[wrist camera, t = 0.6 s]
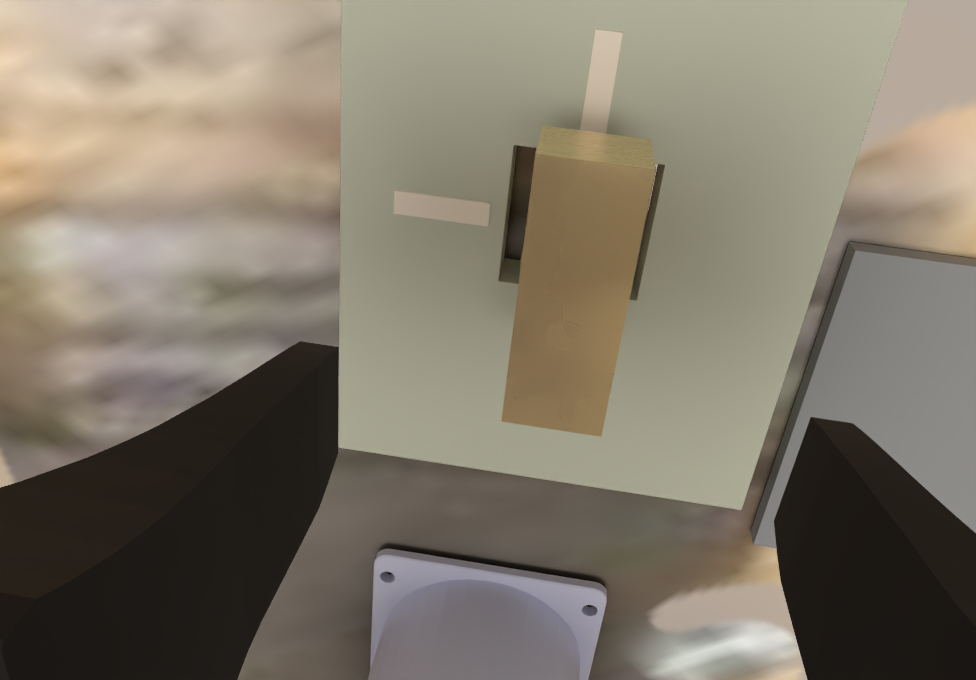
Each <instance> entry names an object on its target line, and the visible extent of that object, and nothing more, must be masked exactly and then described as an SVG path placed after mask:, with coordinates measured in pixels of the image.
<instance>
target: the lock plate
mask: <svg viewBox="0 0 976 680" xmlns="http://www.w3.org/2000/svg"><path fill="white" fill-rule="evenodd" d="M907 4H908V0H342V15H341V162H340V308H339V448H346V449H352V450H359V451H365V452H371V453H378V454H384V455H391V456H397V457H404V458H410V459H416V460H423V461H429V462H436V463H442V464H449V465H455V466H461V467H468V468H474V469H481V470H487V471H494V472H500V473H506V474H513V475H519V476H526V477H532V478H539V479H545V480H552V481H558V482H564V483H571V484H577V485H584V486H590V487H597V488H603V489H609V490H616V491H622V492H629V493H635V494H642V495H648V496H654V497H661V498H667V499H674V500H680V501H687V502H693V503H700V504H706V505H712V506H719V507H725V508H732V509H738V510H742V507H743V504H744V500H745V497H746V494H747V491H748V488H749V485H750V482H751V479H752V476H753V473H754V470H755V467H756V464H757V461H758V458H759V455H760V452H761V449H762V446H763V443H764V440H765V436H766V433H767V430H768V427H769V424H770V421H771V418H772V415H773V412H774V409H775V406H776V403H777V400H778V397H779V394H780V391H781V388H782V385H783V382H784V379H785V375H786V372H787V369H788V366H789V363H790V360H791V357H792V354H793V351H794V348H795V345H796V342H797V339H798V336H799V333H800V330H801V327H802V324H803V321H804V318H805V315H806V311H807V308H808V305H809V302H810V299H811V296H812V293H813V290H814V287H815V284H816V281H817V278H818V275H819V272H820V269H821V266H822V263H823V260H824V257H825V254H826V251H827V247H828V244H829V241H830V238H831V235H832V232H833V229H834V226H835V223H836V220H837V217H838V214H839V211H840V208H841V205H842V202H843V199H844V196H845V193H846V190H847V186H848V183H849V180H850V177H851V174H852V171H853V168H854V165H855V162H856V159H857V156H858V153H859V150H860V147H861V144H862V141H863V137H864V135H865V132H866V128H867V125H868V122H869V119H870V116H871V113H872V110H873V107H874V104H875V101H876V98H877V95H878V92H879V89H880V86H881V83H882V80H883V77H884V73H885V71H886V67H887V64H888V62H889V58H890V55H891V52H892V49H893V46H894V43H895V40H896V37H897V34H898V31H899V28H900V25H901V22H902V19H903V16H904V13H905V10H906V7H907ZM542 126H550V127H557V128H565V129H573V130H580V131H588V132H596V133H604V134H611V135H619V136H627V137H634V138H642V139H650V140H651V145H652V150H653V156H654V161H655V163H656V164H658V167H657V172H656V176H655V181H654V186H653V191H652V196H651V201H650V206H649V211H648V215H647V220H646V225H645V230H644V235H643V240H642V245H641V250H640V254H639V259H638V264H637V269H636V274H635V276H634V280H633V285H632V290H631V294H630V299H629V304H628V309H627V314H626V319H625V324H624V329H623V334H622V338H621V343H620V348H619V353H618V358H617V363H616V368H615V373H614V378H613V382H612V387H611V392H610V397H609V402H608V407H607V412H606V417H605V422H604V426H603V431H602V436H601V437H599V436H593V435H586V434H580V433H573V432H566V431H560V430H553V429H547V428H540V427H533V426H527V425H520V424H514V423H507V422H501V419H502V411H503V403H504V395H505V388H506V380H507V372H508V364H509V356H510V348H511V341H512V333H513V325H514V317H515V309H516V301H517V294H518V286H519V278H520V270H521V269H520V261H521V260H514V259H507V258H504V256H505V248H506V239H507V230H508V222H509V213H510V205H511V196H512V187H513V179H514V170H515V161H516V153H517V145H518V146H525V147H533V148H537V145H538V141H539V138H540V134H541V130H542Z"/></svg>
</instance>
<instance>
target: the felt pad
mask: <svg viewBox="0 0 976 680" xmlns="http://www.w3.org/2000/svg"><path fill="white" fill-rule="evenodd" d="M811 417H815V418H821V419H828V420H835V421H842V422H848V423H853V424H854V425H856V426H857V427H858V428H859V429H861V430H862V431H863V432H864V433H865V434H867V435H868V436H869V437H870V438H871V439H872V440H873V441H875V442H876V443H877V444H878V445H879V446H880V447H881V448H882V449H883V450H884V451H886V452H887V453H888V454H889V455H890V456H891V457H892V458H893V459H894V460H895V461H896V462H897V463H898V464H900V465H901V466H902V467H903V468H904V469H905V470H906V471H907V472H908V473H909V474H910V475H911V476H912V477H913V478H915V479H916V480H917V481H918V482H919V483H920V484H921V485H922V486H923V487H924V488H925V489H926V490H928V491H929V492H930V493H931V494H932V495H933V496H934V497H935V498H936V499H937V500H939V501H940V502H941V503H942V504H943V505H944V506H945V507H946V508H947V509H949V510H950V511H951V512H952V513H953V514H954V515H955V516H956V517H958V518H959V519H960V520H961V521H962V522H963V523H965V524H966V525H967V526H968V527H969V528H970V529H971V530H973V531H974V532H975V533H976V259H975V258H967V257H960V256H952V255H945V254H938V253H930V252H923V251H915V250H908V249H901V248H893V247H886V246H878V245H871V244H864V243H856V242H849V244H848V247H847V250H846V253H845V256H844V259H843V262H842V265H841V268H840V271H839V273H838V276H837V279H836V282H835V285H834V288H833V291H832V294H831V297H830V300H829V303H828V306H827V309H826V312H825V314H824V317H823V320H822V323H821V326H820V329H819V332H818V335H817V338H816V341H815V344H814V347H813V350H812V353H811V356H810V358H809V361H808V364H807V367H806V370H805V373H804V376H803V379H802V382H801V385H800V388H799V391H798V394H797V397H796V399H795V402H794V405H793V408H792V411H791V414H790V417H789V420H788V423H787V426H786V429H785V432H784V435H783V438H782V441H781V443H780V446H779V449H778V452H777V455H776V458H775V461H774V464H773V467H772V470H771V473H770V476H769V479H768V482H767V485H766V487H765V490H764V493H763V496H762V499H761V502H760V505H759V508H758V511H757V514H756V517H755V520H754V523H753V526H752V528H751V536H752V540H753V545H759V546H766V547H772V548H777V547H776V538H775V528H774V519H775V516H776V513H777V510H778V508H779V505H780V502H781V499H782V496H783V494H784V491H785V488H786V485H787V482H788V480H789V477H790V474H791V471H792V468H793V466H794V463H795V460H796V457H797V454H798V452H799V449H800V446H801V443H802V440H803V437H804V435H805V432H806V429H807V426H808V423H809V421H810V418H811Z"/></svg>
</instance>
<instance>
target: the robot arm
mask: <svg viewBox="0 0 976 680" xmlns="http://www.w3.org/2000/svg"><path fill="white" fill-rule="evenodd" d="M338 359H339V347H334V346H327V345H320V344H314V343H307V342H299V343H297V344H295V345H293V346H291V347H290V348H288V349H287V350H285V351H283V352H282V353H280V354H279V355H277V356H275V357H274V358H272V359H271V360H269V361H268V362H266V363H264V364H263V365H261V366H260V367H258V368H257V369H255V370H254V371H252V372H250V373H249V374H247V375H246V376H244V377H242V378H241V379H239V380H237V381H236V382H234V383H233V384H231V385H229V386H228V387H226V388H224V389H223V390H221V391H220V392H218V393H216V394H215V395H213V396H211V397H210V398H208V399H206V400H204V401H202V402H201V403H199V404H197V405H195V406H193V407H191V408H190V409H188V410H186V411H184V412H182V413H180V414H179V415H177V416H175V417H173V418H171V419H170V420H168V421H166V422H164V423H162V424H160V425H159V426H157V427H155V428H153V429H151V430H149V431H147V432H144V433H142V434H140V435H138V436H136V437H134V438H132V439H130V440H127V441H125V442H123V443H121V444H118V445H116V446H114V447H111V448H109V449H107V450H104V451H102V452H100V453H97V454H95V455H93V456H90V457H88V458H85V459H83V460H80V461H77V462H74V463H71V464H68V465H66V466H63V467H60V468H57V469H54V470H52V471H49V472H46V473H43V474H40V475H37V476H35V477H32V478H29V479H26V480H23V481H21V482H17V483H14V484H11V485H8V486H4V487H1V488H0V680H237V678H238V676H239V673H240V670H241V668H242V665H243V663H244V660H245V657H246V655H247V652H248V650H249V647H250V645H251V643H252V641H253V639H254V636H255V634H256V632H257V630H258V628H259V625H260V623H261V621H262V619H263V617H264V615H265V613H266V611H267V609H268V608H269V606H270V604H271V602H272V600H273V598H274V596H275V594H276V592H277V590H278V588H279V586H280V584H281V582H282V580H283V578H284V576H285V574H286V572H287V570H288V568H289V566H290V564H291V563H292V561H293V559H294V557H295V555H296V553H297V551H298V549H299V547H300V545H301V543H302V541H303V539H304V537H305V535H306V533H307V531H308V529H309V527H310V525H311V523H312V521H313V519H314V517H315V515H316V513H317V511H318V509H319V507H320V504H321V501H322V498H323V495H324V493H325V490H326V487H327V484H328V481H329V478H330V475H331V472H332V469H333V466H334V463H335V460H336V457H337V454H338ZM774 528H775V538H776V547H777V556H778V563H779V570H780V577H781V583H782V587H783V591H784V595H785V598H786V602H787V606H788V610H789V614H790V617H791V621H792V625H793V629H794V632H795V636H796V639H797V643H798V647H799V650H800V654H801V657H802V661H803V665H804V668H805V672H806V675H807V679H808V680H976V533H975V532H974V531H973V530H971V529H970V528H969V527H968V526H967V525H966V524H965V523H963V522H962V521H961V520H960V519H959V518H958V517H956V516H955V515H954V514H953V513H952V512H951V511H950V510H949V509H947V508H946V507H945V506H944V505H943V504H942V503H941V502H940V501H939V500H937V499H936V498H935V497H934V496H933V495H932V494H931V493H930V492H929V491H928V490H926V489H925V488H924V487H923V486H922V485H921V484H920V483H919V482H918V481H917V480H916V479H915V478H913V477H912V476H911V475H910V474H909V473H908V472H907V471H906V470H905V469H904V468H903V467H902V466H901V465H900V464H898V463H897V462H896V461H895V460H894V459H893V458H892V457H891V456H890V455H889V454H888V453H887V452H886V451H884V450H883V449H882V448H881V447H880V446H879V445H878V444H877V443H876V442H875V441H873V440H872V439H871V438H870V437H869V436H868V435H867V434H865V433H864V432H863V431H862V430H861V429H859V428H858V427H857V426H856V425H854V424H853V423H848V422H842V421H835V420H828V419H821V418H815V417H811V418H810V421H809V423H808V426H807V429H806V432H805V435H804V437H803V440H802V443H801V446H800V449H799V452H798V454H797V457H796V460H795V463H794V466H793V468H792V471H791V474H790V477H789V480H788V482H787V485H786V488H785V491H784V494H783V496H782V499H781V502H780V505H779V508H778V510H777V513H776V516H775V519H774ZM385 572H390V573H392V574H387V573H385ZM606 603H607V590H606V589H605V587H604V586H603V585H601V584H600V583H597V582H592V581H586V580H580V579H574V578H568V577H562V576H555V575H549V574H543V573H537V572H531V571H525V570H519V569H512V568H506V567H500V566H494V565H488V564H482V563H475V562H469V561H463V560H457V559H451V558H445V557H438V556H432V555H426V554H420V553H414V552H408V551H401V550H395V549H383V550H380V551H379V552H378V553H377V556H376V559H375V562H374V577H373V604H372V631H371V658H370V674H369V677H368V680H588V679H589V674H590V670H591V666H592V662H593V658H594V653H595V649H596V645H597V641H598V637H599V632H600V628H601V624H602V620H603V616H604V611H605V607H606ZM586 605H592V606H594V607H587V606H586Z"/></svg>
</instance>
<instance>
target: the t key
mask: <svg viewBox="0 0 976 680" xmlns="http://www.w3.org/2000/svg"><path fill="white" fill-rule="evenodd" d="M655 172H656V167H655V161H654V156H653V150H652V145H651V140H650V139H642V138H634V137H627V136H619V135H611V134H604V133H596V132H588V131H580V130H573V129H565V128H557V127H550V126H542V130H541V134H540V138H539V141H538V145H537V149H536V153H535V160H534V168H533V176H532V184H531V192H530V200H529V207H528V215H527V223H526V231H525V239H524V246H523V250H522V255H521V261H520V269H521V270H520V278H519V286H518V294H517V301H516V309H515V317H514V325H513V333H512V341H511V348H510V356H509V364H508V372H507V380H506V388H505V395H504V403H503V411H502V419H501V422H507V423H514V424H520V425H527V426H533V427H540V428H547V429H553V430H560V431H566V432H573V433H580V434H586V435H593V436H599V437H601V436H602V431H603V426H604V422H605V417H606V412H607V407H608V402H609V397H610V392H611V387H612V382H613V378H614V373H615V368H616V363H617V358H618V353H619V348H620V343H621V338H622V334H623V329H624V324H625V319H626V314H627V309H628V304H629V299H630V294H631V290H632V285H633V280H634V275H635V270H636V265H637V260H638V255H639V250H640V246H641V241H642V236H643V231H644V226H645V221H646V216H647V211H648V206H649V202H650V197H651V192H652V186H653V182H654V177H655Z"/></svg>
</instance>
